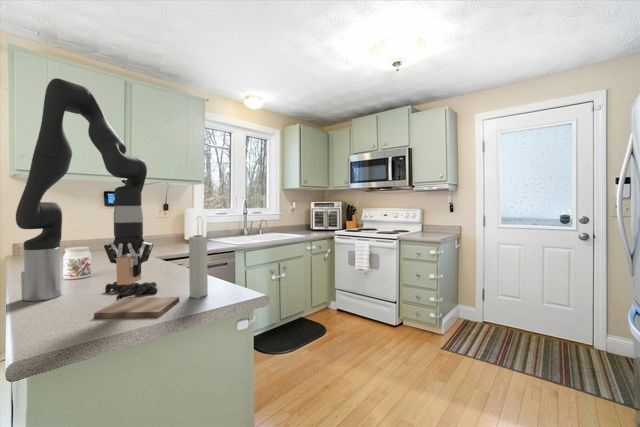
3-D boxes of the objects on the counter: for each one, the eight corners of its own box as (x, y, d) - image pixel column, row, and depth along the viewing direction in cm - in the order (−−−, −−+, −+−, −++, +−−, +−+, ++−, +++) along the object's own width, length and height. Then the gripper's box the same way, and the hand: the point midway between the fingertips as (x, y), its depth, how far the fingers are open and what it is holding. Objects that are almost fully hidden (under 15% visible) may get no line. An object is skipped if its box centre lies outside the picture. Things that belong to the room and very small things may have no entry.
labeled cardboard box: (117, 284, 88) (116, 258, 88) (129, 279, 95) (128, 254, 95) (129, 284, 89) (128, 257, 88) (141, 279, 95) (140, 254, 95)
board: (94, 318, 85) (93, 313, 85) (123, 302, 99) (123, 297, 99) (159, 316, 86) (159, 311, 86) (179, 301, 100) (179, 296, 100)
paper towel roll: (196, 292, 110) (195, 234, 110) (211, 293, 109) (210, 235, 108) (183, 298, 103) (182, 236, 103) (199, 299, 102) (198, 237, 101)
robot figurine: (88, 300, 104) (137, 302, 100) (87, 288, 104) (136, 289, 100) (130, 287, 121) (173, 288, 117) (130, 276, 121) (173, 277, 117)
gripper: (96, 221, 87) (97, 279, 88) (145, 221, 88) (146, 279, 88) (112, 220, 95) (113, 274, 95) (158, 220, 96) (159, 273, 96)
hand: (129, 276), depth 92 cm, fingers closed on labeled cardboard box, 3 cm apart
